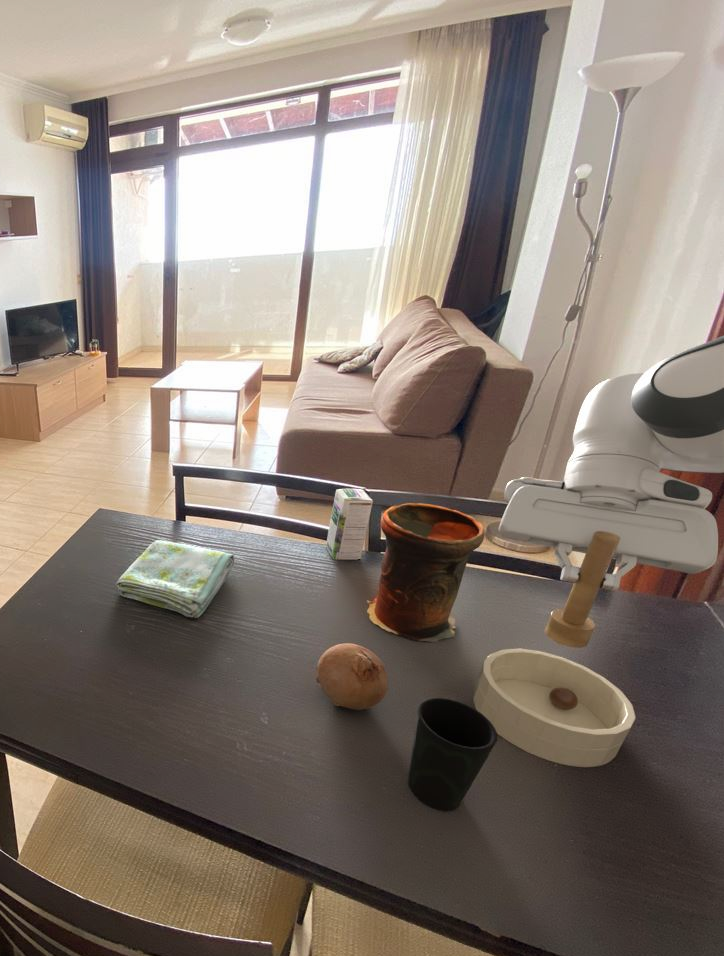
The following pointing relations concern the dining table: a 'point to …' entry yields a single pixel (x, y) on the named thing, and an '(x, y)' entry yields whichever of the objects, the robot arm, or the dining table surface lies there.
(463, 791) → the cup
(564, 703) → the bead
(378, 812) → the dining table surface
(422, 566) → the vessel
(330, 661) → the onion
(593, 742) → the bowl
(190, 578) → the towel
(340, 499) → the syrup box
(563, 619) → the wooden tamper
